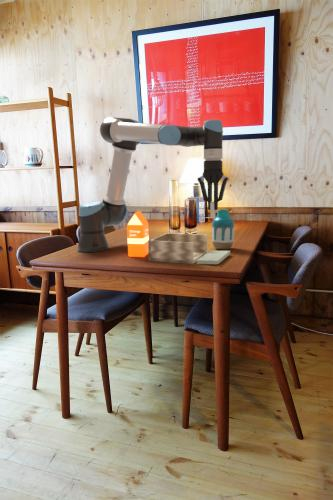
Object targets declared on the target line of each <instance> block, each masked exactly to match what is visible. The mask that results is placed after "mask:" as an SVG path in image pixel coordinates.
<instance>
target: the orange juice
mask: <svg viewBox="0 0 333 500" xmlns="http://www.w3.org/2000/svg"><path fill="white" fill-rule="evenodd" d="M149 233H150V232H149V221H148V220H147V219H146V217H145V216H144V215H143V213H142V211H141V210H137V211H136V212H134V214H133V215H132V217H131V218H130V219H129V221H128V222H127V225H126V234H127V236H126V239H127V240H126V241H127V255H128V256H127V257H131V258H135V257H137V258H145V257H146V256H147V255H149V254H148V253H149V251H148V240H150V237H149V236H150V234H149Z"/></svg>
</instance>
